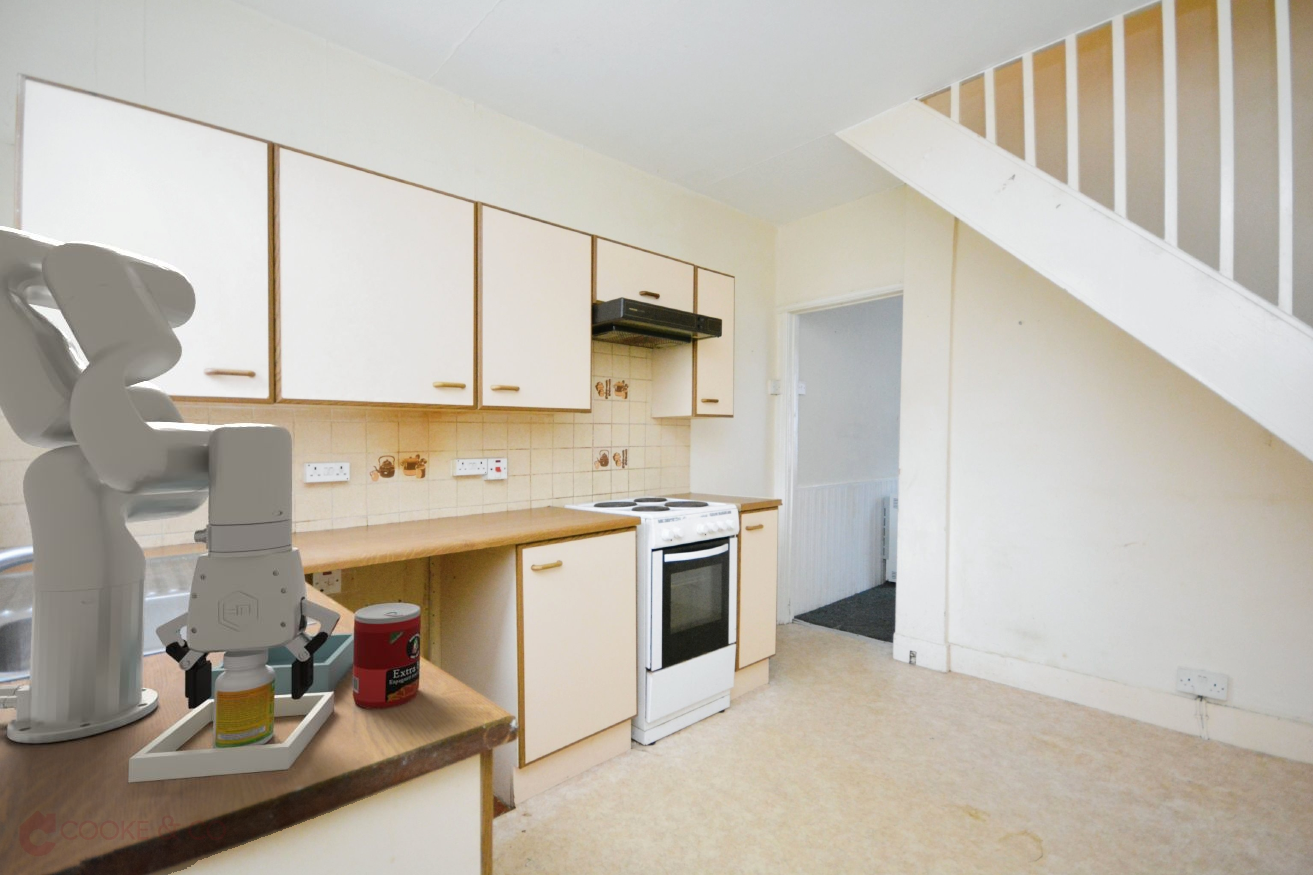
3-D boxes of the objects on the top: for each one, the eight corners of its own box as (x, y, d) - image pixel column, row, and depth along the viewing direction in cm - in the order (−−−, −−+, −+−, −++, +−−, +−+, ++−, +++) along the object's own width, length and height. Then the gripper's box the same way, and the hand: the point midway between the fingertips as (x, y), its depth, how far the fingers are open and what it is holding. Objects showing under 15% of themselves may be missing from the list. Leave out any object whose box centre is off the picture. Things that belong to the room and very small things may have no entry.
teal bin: (207, 703, 73) (208, 670, 74) (257, 664, 87) (258, 636, 87) (328, 696, 76) (328, 664, 76) (358, 659, 89) (359, 632, 90)
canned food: (395, 712, 72) (397, 620, 72) (337, 706, 73) (339, 615, 74) (431, 687, 79) (433, 604, 80) (378, 682, 81) (380, 600, 81)
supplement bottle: (280, 741, 64) (283, 650, 65) (219, 760, 60) (222, 663, 61) (265, 725, 68) (267, 639, 68) (206, 742, 64) (209, 650, 64)
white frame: (128, 782, 56) (129, 758, 56) (206, 718, 70) (206, 699, 70) (288, 769, 59) (288, 746, 59) (333, 710, 72) (334, 691, 72)
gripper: (136, 547, 59) (135, 722, 59) (327, 539, 63) (327, 705, 62) (180, 537, 67) (179, 693, 66) (348, 530, 70) (349, 678, 70)
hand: (251, 698), depth 64 cm, fingers open, 9 cm apart
